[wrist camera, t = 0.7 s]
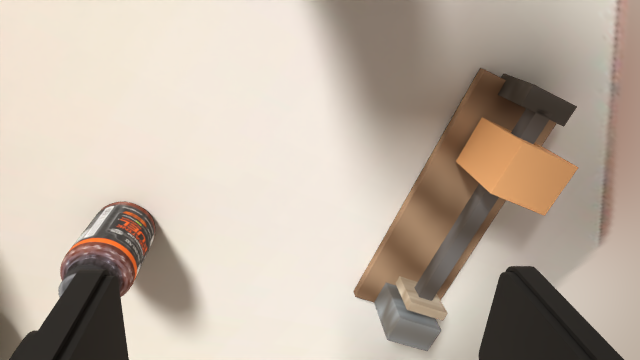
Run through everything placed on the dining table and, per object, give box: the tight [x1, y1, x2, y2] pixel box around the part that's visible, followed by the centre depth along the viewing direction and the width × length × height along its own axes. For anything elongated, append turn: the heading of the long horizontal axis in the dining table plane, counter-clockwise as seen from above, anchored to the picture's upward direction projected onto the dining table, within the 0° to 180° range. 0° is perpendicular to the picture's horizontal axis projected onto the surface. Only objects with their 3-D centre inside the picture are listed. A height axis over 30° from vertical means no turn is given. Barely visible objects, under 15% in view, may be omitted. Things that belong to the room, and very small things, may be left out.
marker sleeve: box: [456, 117, 578, 216], centre depth 41 cm, size 5×6×8 cm
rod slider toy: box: [354, 68, 577, 351], centre depth 45 cm, size 28×10×7 cm, turn 156°
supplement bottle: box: [59, 202, 155, 297], centre depth 40 cm, size 6×6×11 cm
